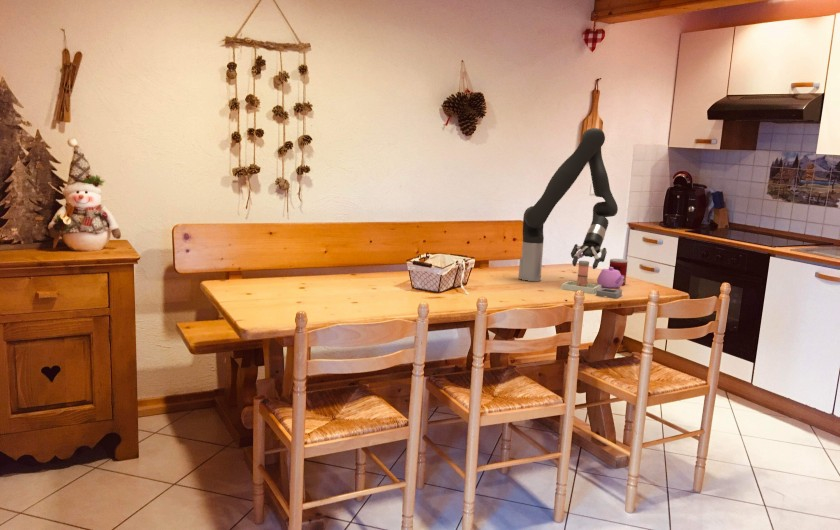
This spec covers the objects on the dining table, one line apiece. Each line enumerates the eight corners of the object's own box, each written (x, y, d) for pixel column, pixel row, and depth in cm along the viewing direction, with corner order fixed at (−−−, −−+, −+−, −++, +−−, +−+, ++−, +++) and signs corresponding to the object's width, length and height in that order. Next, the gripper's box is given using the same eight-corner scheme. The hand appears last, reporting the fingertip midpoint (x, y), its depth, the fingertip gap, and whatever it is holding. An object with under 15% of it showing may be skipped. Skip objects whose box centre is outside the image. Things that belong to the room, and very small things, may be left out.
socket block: (593, 297, 286) (594, 291, 286) (601, 293, 295) (602, 287, 295) (616, 301, 282) (616, 294, 281) (623, 296, 291) (623, 290, 290)
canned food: (623, 282, 323) (625, 259, 321) (626, 286, 315) (629, 261, 313) (606, 281, 324) (608, 258, 322) (609, 285, 316) (611, 260, 314)
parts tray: (561, 290, 298) (561, 283, 297) (569, 287, 306) (569, 280, 306) (593, 295, 291) (594, 288, 290) (600, 292, 299) (601, 285, 299)
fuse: (574, 289, 298) (577, 261, 296) (578, 288, 301) (580, 260, 299) (584, 290, 296) (587, 262, 294) (587, 289, 299) (590, 261, 297)
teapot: (609, 284, 317) (611, 264, 315) (631, 291, 303) (633, 270, 302) (590, 285, 313) (592, 264, 311) (611, 292, 299) (613, 270, 298)
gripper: (577, 230, 307) (566, 258, 299) (609, 233, 300) (599, 263, 292) (580, 241, 312) (569, 269, 304) (612, 244, 305) (601, 274, 297)
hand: (583, 266), depth 298 cm, fingers open, 8 cm apart
